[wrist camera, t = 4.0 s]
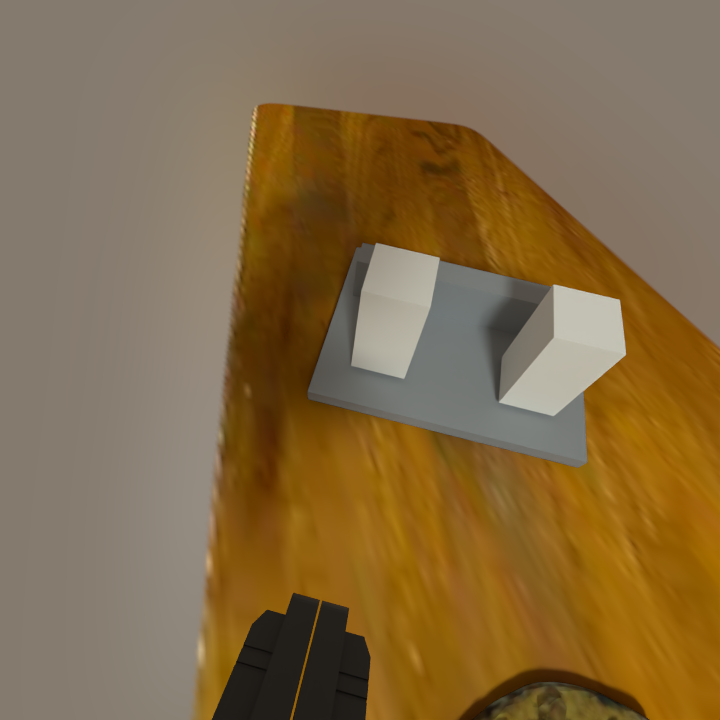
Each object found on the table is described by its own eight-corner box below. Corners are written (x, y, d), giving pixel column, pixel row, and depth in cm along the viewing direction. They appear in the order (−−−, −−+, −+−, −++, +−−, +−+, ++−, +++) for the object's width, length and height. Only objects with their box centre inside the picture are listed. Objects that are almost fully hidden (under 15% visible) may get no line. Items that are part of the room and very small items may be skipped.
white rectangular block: (553, 416, 31) (626, 354, 23) (498, 402, 31) (553, 337, 24) (553, 369, 33) (619, 299, 26) (501, 357, 33) (553, 284, 26)
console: (578, 467, 30) (622, 441, 26) (307, 399, 31) (306, 363, 27) (571, 307, 38) (605, 267, 34) (355, 256, 39) (360, 210, 35)
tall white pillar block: (404, 378, 31) (430, 307, 24) (351, 365, 31) (361, 291, 24) (413, 335, 33) (439, 257, 26) (363, 323, 33) (376, 242, 26)
